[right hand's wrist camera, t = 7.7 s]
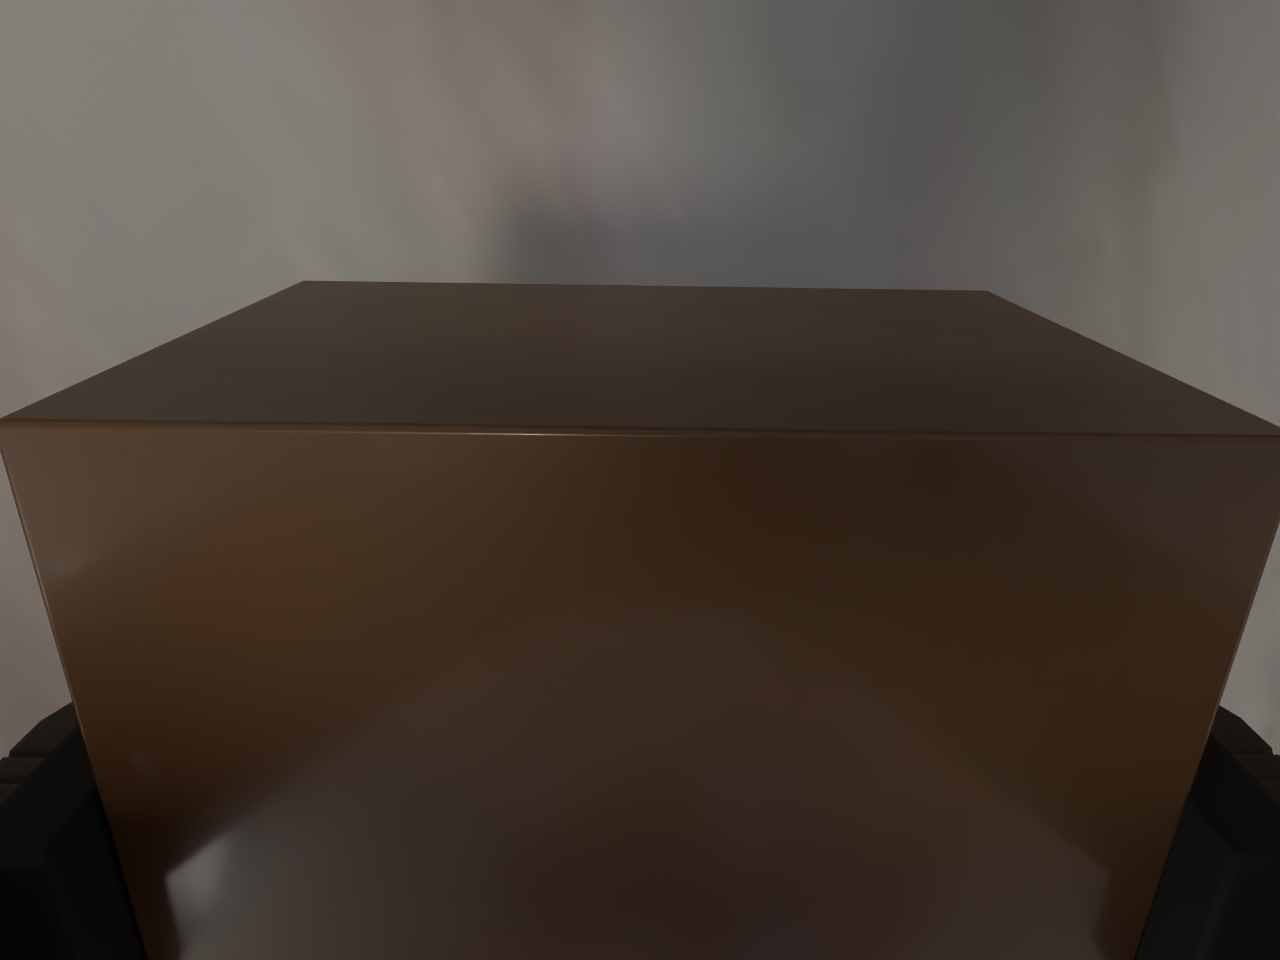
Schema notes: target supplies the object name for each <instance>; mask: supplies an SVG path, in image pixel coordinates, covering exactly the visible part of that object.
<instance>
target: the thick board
mask: <svg viewBox="0 0 1280 960" xmlns="http://www.w3.org/2000/svg"><path fill="white" fill-rule="evenodd" d="M0 451H1V454H2V458H3V461H4V465H5V468H6V472H7V475H8V479H9V482H10V486H11V489H12V492H13V496H14V499H15V503H16V506H17V510H18V513H19V517H20V520H21V524H22V527H23V531H24V534H25V538H26V541H27V545H28V548H29V552H30V555H31V559H32V562H33V566H34V569H35V573H36V576H37V579H38V583H39V586H40V590H41V593H42V597H43V600H44V604H45V607H46V611H47V614H48V618H49V621H50V625H51V628H52V632H53V635H54V639H55V642H56V646H57V649H58V653H59V656H60V659H61V663H62V666H63V670H64V673H65V677H66V680H67V684H68V687H69V691H70V694H71V698H72V701H73V705H74V708H75V712H76V715H77V719H78V722H79V726H80V729H81V733H82V736H83V739H84V743H85V746H86V750H87V753H88V757H89V760H90V764H91V767H92V771H93V774H94V778H95V781H96V785H97V788H98V792H99V795H100V799H101V802H102V806H103V809H104V813H105V816H106V819H107V823H108V826H109V830H110V833H111V837H112V840H113V844H114V847H115V851H116V854H117V858H118V861H119V865H120V868H121V872H122V875H123V879H124V882H125V886H126V889H127V893H128V896H129V899H130V903H131V906H132V910H133V913H134V917H135V920H136V924H137V927H138V931H139V934H140V938H141V941H142V945H143V948H144V952H145V955H146V959H147V960H1135V958H1136V954H1137V951H1138V948H1139V945H1140V942H1141V939H1142V936H1143V933H1144V930H1145V927H1146V924H1147V921H1148V918H1149V915H1150V912H1151V909H1152V906H1153V903H1154V900H1155V896H1156V893H1157V890H1158V887H1159V884H1160V881H1161V877H1162V874H1163V871H1164V868H1165V865H1166V862H1167V859H1168V855H1169V852H1170V849H1171V846H1172V843H1173V840H1174V836H1175V833H1176V830H1177V827H1178V824H1179V821H1180V818H1181V814H1182V811H1183V808H1184V805H1185V802H1186V799H1187V795H1188V793H1190V791H1191V788H1192V785H1193V782H1194V779H1195V776H1196V773H1197V770H1198V767H1199V764H1200V761H1201V758H1202V755H1203V752H1204V749H1205V746H1206V743H1207V740H1208V737H1209V734H1210V730H1211V727H1212V724H1213V721H1214V718H1215V715H1216V712H1217V709H1218V706H1219V703H1220V700H1221V697H1222V694H1223V691H1224V688H1225V685H1226V682H1227V679H1228V676H1229V673H1230V670H1231V667H1232V664H1233V661H1234V658H1235V655H1236V652H1237V649H1238V646H1239V643H1240V640H1241V637H1242V634H1243V631H1244V628H1245V625H1246V621H1247V618H1248V615H1249V612H1250V609H1251V606H1252V603H1253V600H1254V597H1255V594H1256V591H1257V588H1258V585H1259V582H1260V579H1261V576H1262V573H1263V570H1264V567H1265V564H1266V561H1267V558H1268V555H1269V552H1270V549H1271V546H1272V543H1273V540H1274V537H1275V534H1276V531H1277V528H1278V525H1279V522H1280V427H1279V426H1276V425H1274V424H1272V423H1270V422H1268V421H1266V420H1263V419H1261V418H1259V417H1257V416H1255V415H1253V414H1251V413H1248V412H1246V411H1244V410H1242V409H1240V408H1238V407H1235V406H1233V405H1231V404H1229V403H1227V402H1225V401H1223V400H1220V399H1218V398H1216V397H1214V396H1212V395H1210V394H1207V393H1205V392H1203V391H1201V390H1199V389H1197V388H1195V387H1192V386H1190V385H1188V384H1186V383H1184V382H1182V381H1179V380H1177V379H1175V378H1173V377H1171V376H1169V375H1167V374H1164V373H1162V372H1160V371H1158V370H1156V369H1154V368H1151V367H1149V366H1147V365H1145V364H1143V363H1141V362H1139V361H1136V360H1134V359H1132V358H1130V357H1128V356H1126V355H1123V354H1121V353H1119V352H1117V351H1115V350H1113V349H1111V348H1108V347H1106V346H1104V345H1102V344H1100V343H1098V342H1095V341H1093V340H1091V339H1089V338H1087V337H1085V336H1083V335H1080V334H1078V333H1076V332H1074V331H1072V330H1070V329H1068V328H1065V327H1063V326H1061V325H1059V324H1057V323H1055V322H1052V321H1050V320H1048V319H1046V318H1044V317H1042V316H1040V315H1037V314H1035V313H1033V312H1031V311H1029V310H1027V309H1024V308H1022V307H1020V306H1018V305H1016V304H1014V303H1012V302H1009V301H1007V300H1005V299H1003V298H1001V297H999V296H996V295H994V294H992V293H990V292H988V291H967V290H899V289H831V288H762V287H694V286H626V285H557V284H489V283H421V282H353V281H302V282H300V283H297V284H295V285H293V286H291V287H289V288H286V289H284V290H282V291H280V292H278V293H275V294H273V295H271V296H269V297H267V298H264V299H262V300H260V301H258V302H256V303H253V304H251V305H249V306H247V307H245V308H242V309H240V310H238V311H236V312H234V313H231V314H229V315H227V316H225V317H223V318H220V319H218V320H216V321H214V322H211V323H209V324H207V325H205V326H203V327H200V328H198V329H196V330H194V331H192V332H189V333H187V334H185V335H183V336H181V337H178V338H176V339H174V340H172V341H170V342H167V343H165V344H163V345H161V346H159V347H156V348H154V349H152V350H150V351H148V352H145V353H143V354H141V355H139V356H137V357H134V358H132V359H130V360H128V361H126V362H123V363H121V364H119V365H117V366H115V367H112V368H110V369H108V370H106V371H104V372H101V373H99V374H97V375H95V376H93V377H90V378H88V379H86V380H84V381H82V382H79V383H77V384H75V385H73V386H71V387H68V388H66V389H64V390H62V391H60V392H57V393H55V394H53V395H51V396H49V397H46V398H44V399H42V400H40V401H38V402H35V403H33V404H31V405H29V406H27V407H24V408H22V409H20V410H18V411H16V412H13V413H11V414H9V415H7V416H5V417H2V418H0Z"/></svg>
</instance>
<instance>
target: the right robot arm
mask: <svg viewBox="0 0 1280 960" xmlns="http://www.w3.org/2000/svg"><path fill="white" fill-rule="evenodd" d="M9 753H10V754H9V757H8V758H2V759H1V760H0V960H147V959H146V955H145V952H144V948H143V945H142V941H141V938H140V934H139V931H138V927H137V924H136V920H135V917H134V913H133V910H132V906H131V903H130V899H129V896H128V893H127V889H126V886H125V882H124V879H123V875H122V872H121V868H120V865H119V861H118V858H117V854H116V851H115V847H114V844H113V840H112V837H111V833H110V830H109V826H108V823H107V819H106V816H105V813H104V809H103V806H102V802H101V799H100V795H99V792H98V788H97V785H96V781H95V778H94V774H93V771H92V767H91V764H90V760H89V757H88V753H87V750H86V746H85V743H84V739H83V736H82V733H81V729H80V726H79V722H78V719H77V715H76V712H75V708H74V705H73V702H71V703H69V704H68V705H66V706H64V707H63V708H61V709H59V710H58V711H56V712H54V713H53V714H51V715H50V716H48V717H46V718H45V719H43V720H41V721H40V722H39V723H38V724H37V725H36V726H35V727H34V728H33V729H32V730H31V731H30V732H29V733H28V734H27V735H26V736H25V737H24V738H23V739H22V740H21V741H20V742H18V743H17V744H16V745H15V746H14V747H13V748H12V749H11V750H10V751H9ZM1135 960H1280V756H1279V755H1274V754H1273V753H1272V748H1271V747H1270V746H1269V745H1268V744H1267V743H1266V742H1265V741H1264V740H1263V739H1262V738H1261V737H1260V736H1259V735H1258V734H1257V733H1256V732H1255V731H1254V730H1253V729H1251V728H1250V727H1249V726H1248V725H1247V724H1246V723H1245V722H1244V721H1243V720H1242V719H1241V718H1240V717H1238V716H1236V715H1235V714H1233V713H1231V712H1230V711H1228V710H1226V709H1225V708H1223V707H1221V706H1220V705H1219V706H1218V709H1217V712H1216V715H1215V718H1214V721H1213V724H1212V727H1211V730H1210V734H1209V737H1208V740H1207V743H1206V746H1205V749H1204V752H1203V755H1202V758H1201V761H1200V764H1199V767H1198V770H1197V773H1196V776H1195V779H1194V782H1193V785H1192V788H1191V791H1190V793H1188V795H1187V799H1186V802H1185V805H1184V808H1183V811H1182V814H1181V818H1180V821H1179V824H1178V827H1177V830H1176V833H1175V836H1174V840H1173V843H1172V846H1171V849H1170V852H1169V855H1168V859H1167V862H1166V865H1165V868H1164V871H1163V874H1162V877H1161V881H1160V884H1159V887H1158V890H1157V893H1156V896H1155V900H1154V903H1153V906H1152V909H1151V912H1150V915H1149V918H1148V921H1147V924H1146V927H1145V930H1144V933H1143V936H1142V939H1141V942H1140V945H1139V948H1138V951H1137V954H1136V958H1135Z"/></svg>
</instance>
